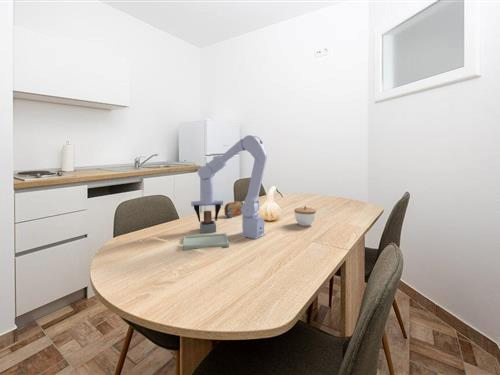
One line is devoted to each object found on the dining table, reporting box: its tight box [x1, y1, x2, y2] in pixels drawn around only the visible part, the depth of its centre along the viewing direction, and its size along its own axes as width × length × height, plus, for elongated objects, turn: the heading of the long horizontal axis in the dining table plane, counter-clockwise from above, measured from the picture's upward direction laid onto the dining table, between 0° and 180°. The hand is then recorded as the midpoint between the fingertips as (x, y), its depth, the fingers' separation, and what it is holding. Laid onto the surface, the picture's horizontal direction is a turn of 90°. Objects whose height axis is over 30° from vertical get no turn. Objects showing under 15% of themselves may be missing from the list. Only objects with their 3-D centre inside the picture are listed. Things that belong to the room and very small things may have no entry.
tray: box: [182, 233, 230, 251], centre depth 118 cm, size 18×13×2 cm
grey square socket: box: [199, 220, 217, 234], centre depth 134 cm, size 7×7×4 cm
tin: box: [223, 200, 244, 219], centre depth 164 cm, size 15×3×8 cm, turn 143°
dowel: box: [203, 210, 213, 225], centre depth 134 cm, size 4×4×9 cm
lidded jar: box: [294, 206, 317, 227], centre depth 145 cm, size 11×11×9 cm
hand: (207, 220), depth 134 cm, fingers open, 7 cm apart
